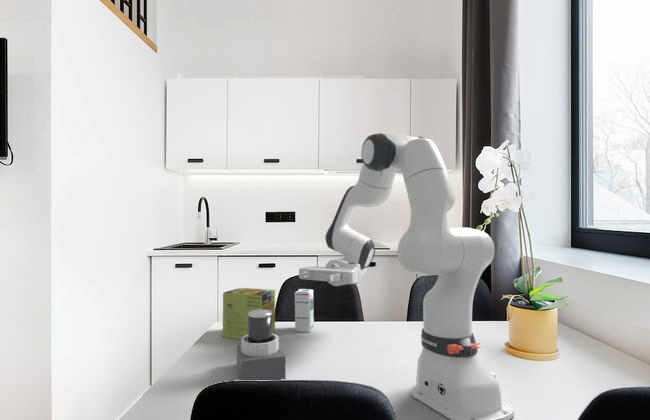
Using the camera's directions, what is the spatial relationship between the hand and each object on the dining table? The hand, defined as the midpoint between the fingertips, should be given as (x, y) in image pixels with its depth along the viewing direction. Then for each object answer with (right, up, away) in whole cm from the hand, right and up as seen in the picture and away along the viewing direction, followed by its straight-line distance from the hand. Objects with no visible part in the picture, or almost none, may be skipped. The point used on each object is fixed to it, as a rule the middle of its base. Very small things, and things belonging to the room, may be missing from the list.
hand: (315, 277), depth 116 cm
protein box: (-24, -24, +17) cm, 37 cm away
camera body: (-15, -23, -15) cm, 31 cm away
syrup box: (-5, -24, +23) cm, 33 cm away
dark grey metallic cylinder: (-14, -17, -15) cm, 27 cm away
